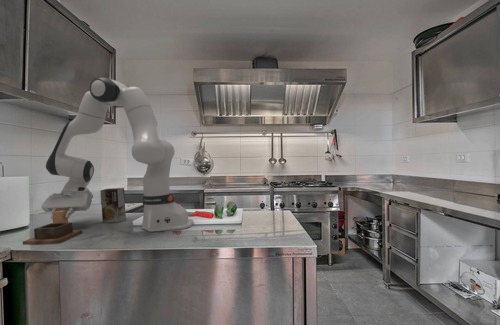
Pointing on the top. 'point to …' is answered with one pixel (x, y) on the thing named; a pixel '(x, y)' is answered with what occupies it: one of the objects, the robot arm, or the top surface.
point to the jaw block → (59, 216)
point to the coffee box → (113, 205)
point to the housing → (53, 233)
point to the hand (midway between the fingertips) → (59, 218)
